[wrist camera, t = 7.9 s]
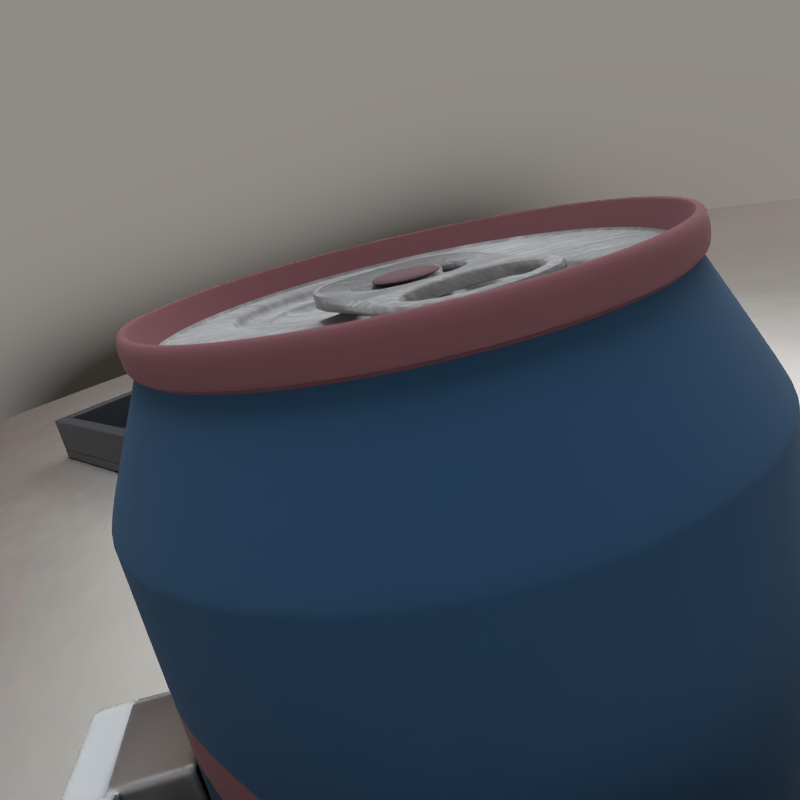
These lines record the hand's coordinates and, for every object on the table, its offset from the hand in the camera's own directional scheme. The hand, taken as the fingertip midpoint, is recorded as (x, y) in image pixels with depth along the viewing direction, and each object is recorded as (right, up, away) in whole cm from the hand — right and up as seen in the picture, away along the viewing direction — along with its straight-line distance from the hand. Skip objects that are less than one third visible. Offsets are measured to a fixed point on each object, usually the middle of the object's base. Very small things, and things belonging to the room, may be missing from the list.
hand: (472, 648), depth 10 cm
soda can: (+2, -7, +1) cm, 7 cm away
